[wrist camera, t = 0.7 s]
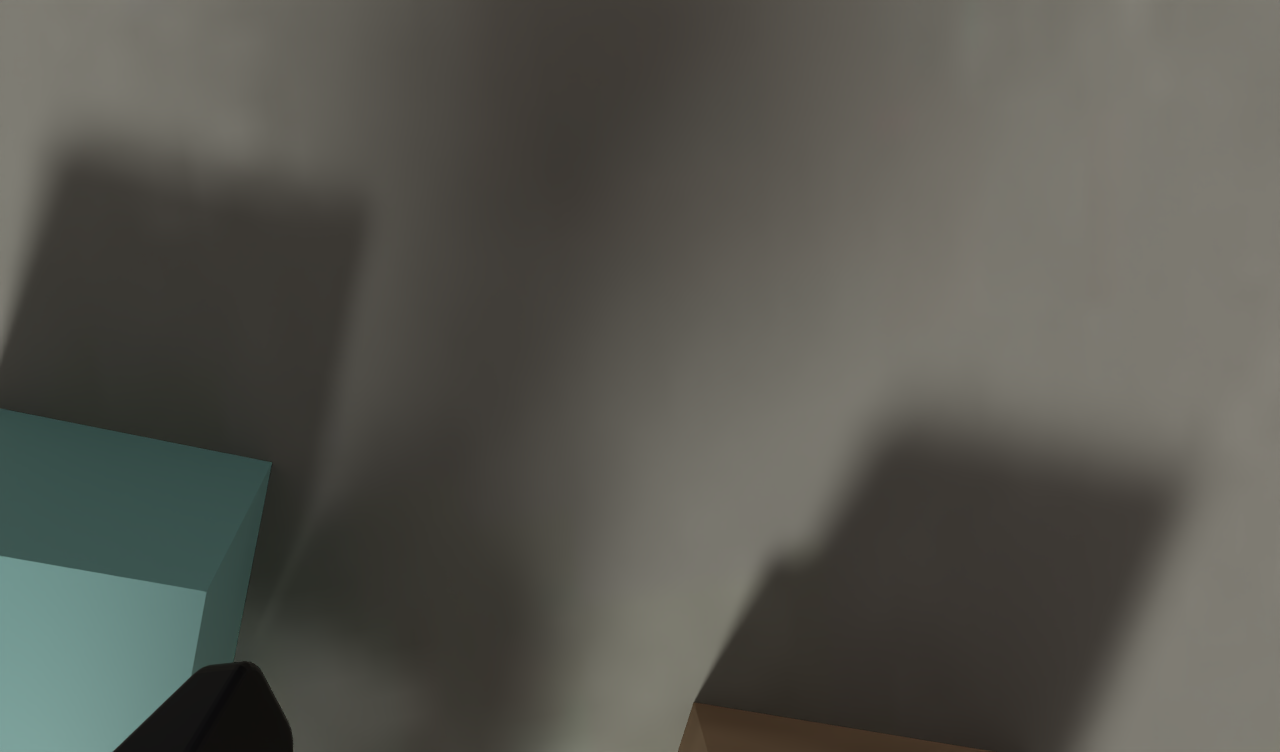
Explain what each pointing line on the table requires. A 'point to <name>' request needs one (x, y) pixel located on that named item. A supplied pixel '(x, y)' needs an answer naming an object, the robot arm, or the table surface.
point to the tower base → (789, 735)
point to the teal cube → (114, 576)
